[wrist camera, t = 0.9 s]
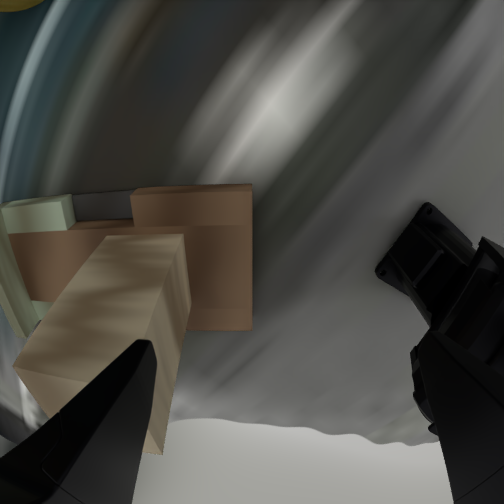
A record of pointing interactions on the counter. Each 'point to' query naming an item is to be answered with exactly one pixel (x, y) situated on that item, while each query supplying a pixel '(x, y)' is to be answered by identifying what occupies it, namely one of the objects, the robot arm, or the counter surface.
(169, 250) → the beech block
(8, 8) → the flower pot
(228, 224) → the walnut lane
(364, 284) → the counter surface
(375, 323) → the counter surface
